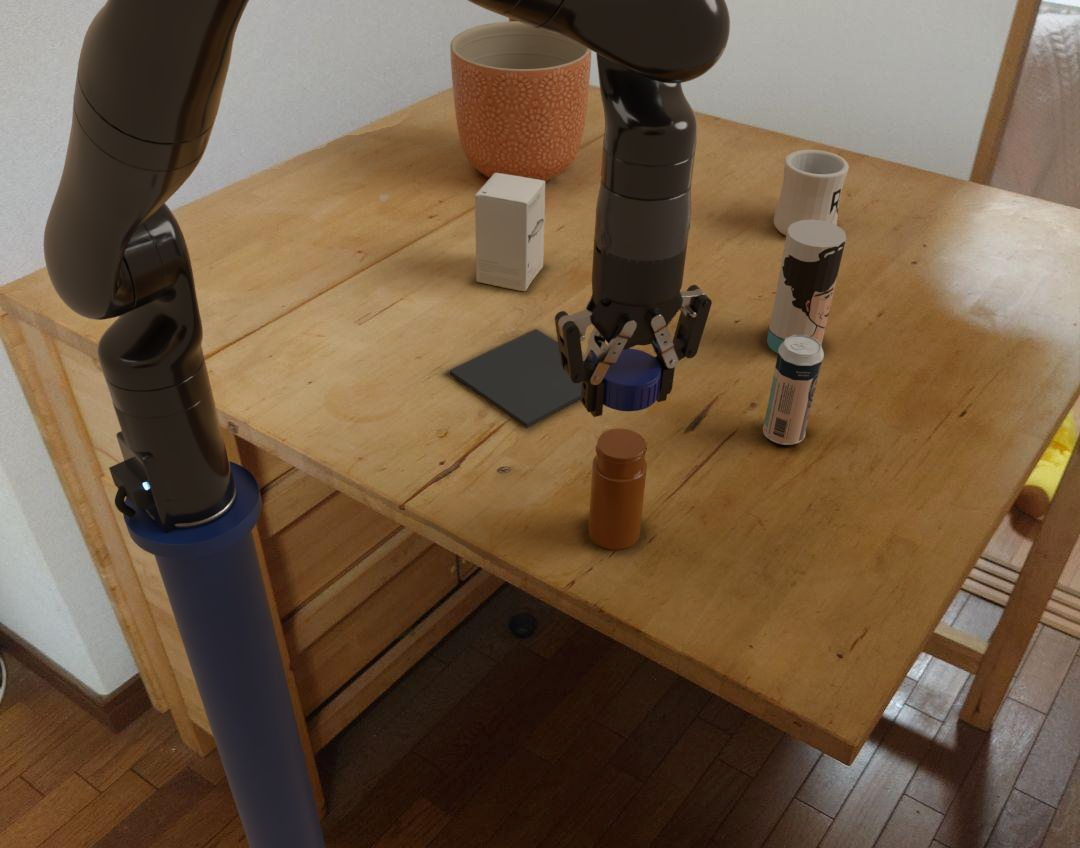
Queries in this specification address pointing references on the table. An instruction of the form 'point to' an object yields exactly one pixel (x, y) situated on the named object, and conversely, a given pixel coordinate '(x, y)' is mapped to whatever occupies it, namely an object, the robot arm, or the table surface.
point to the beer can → (793, 389)
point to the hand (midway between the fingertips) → (625, 403)
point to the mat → (522, 378)
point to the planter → (519, 98)
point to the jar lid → (632, 381)
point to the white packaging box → (509, 231)
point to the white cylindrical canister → (806, 281)
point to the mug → (810, 188)
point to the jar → (617, 489)
